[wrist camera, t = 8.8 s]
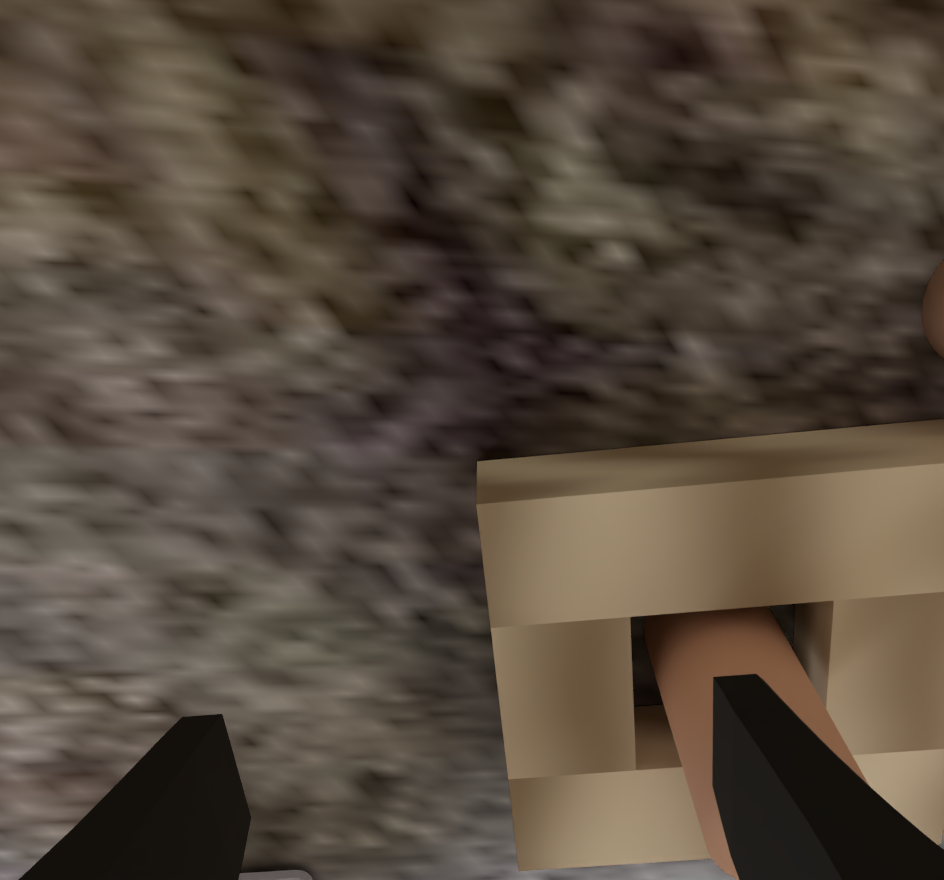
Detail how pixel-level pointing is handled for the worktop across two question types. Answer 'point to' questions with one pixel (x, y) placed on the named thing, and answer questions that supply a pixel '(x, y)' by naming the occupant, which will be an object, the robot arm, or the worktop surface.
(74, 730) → the worktop surface
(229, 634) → the worktop surface
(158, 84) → the worktop surface
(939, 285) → the short stub
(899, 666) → the collar block
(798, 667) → the long pin
